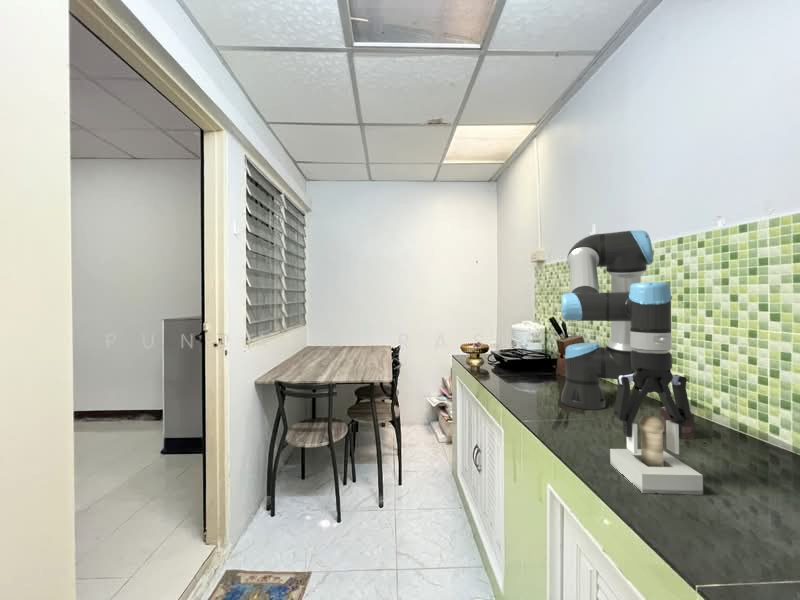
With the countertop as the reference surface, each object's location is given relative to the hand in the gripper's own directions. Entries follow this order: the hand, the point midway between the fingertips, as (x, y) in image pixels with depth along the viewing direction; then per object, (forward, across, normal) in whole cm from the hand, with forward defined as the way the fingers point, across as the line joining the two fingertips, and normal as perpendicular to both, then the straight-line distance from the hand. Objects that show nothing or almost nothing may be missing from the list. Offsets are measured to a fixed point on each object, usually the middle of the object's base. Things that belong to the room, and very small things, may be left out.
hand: (652, 450), depth 76 cm
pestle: (+5, 0, 0) cm, 5 cm away
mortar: (+6, 0, 0) cm, 6 cm away
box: (+7, +23, +26) cm, 35 cm away
